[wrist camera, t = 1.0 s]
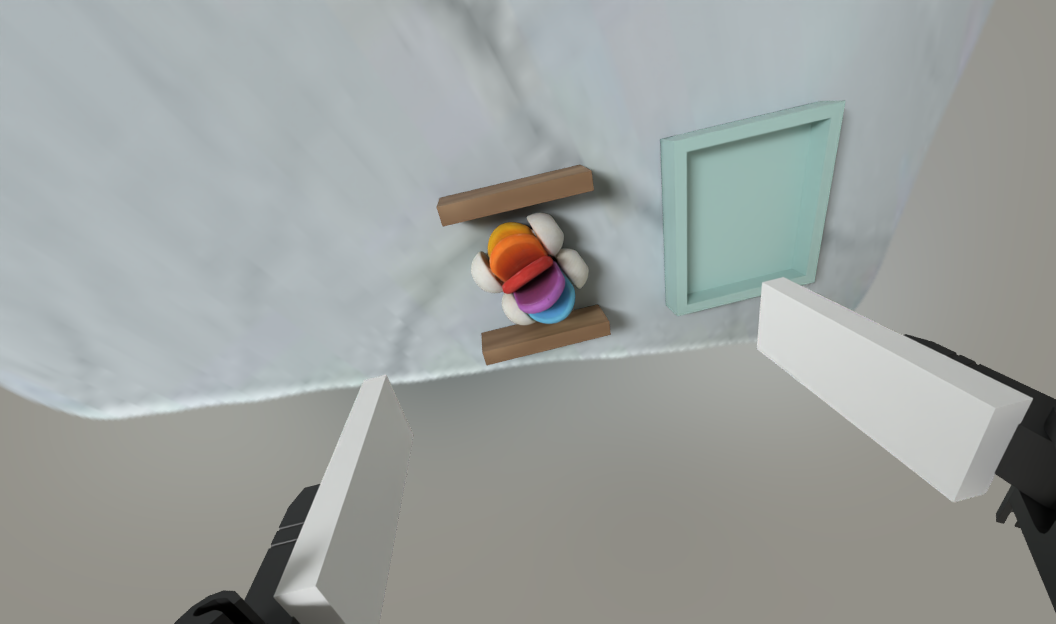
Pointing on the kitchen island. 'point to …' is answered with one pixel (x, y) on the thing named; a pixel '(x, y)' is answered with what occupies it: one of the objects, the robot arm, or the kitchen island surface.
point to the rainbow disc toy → (531, 270)
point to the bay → (515, 196)
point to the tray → (746, 204)
